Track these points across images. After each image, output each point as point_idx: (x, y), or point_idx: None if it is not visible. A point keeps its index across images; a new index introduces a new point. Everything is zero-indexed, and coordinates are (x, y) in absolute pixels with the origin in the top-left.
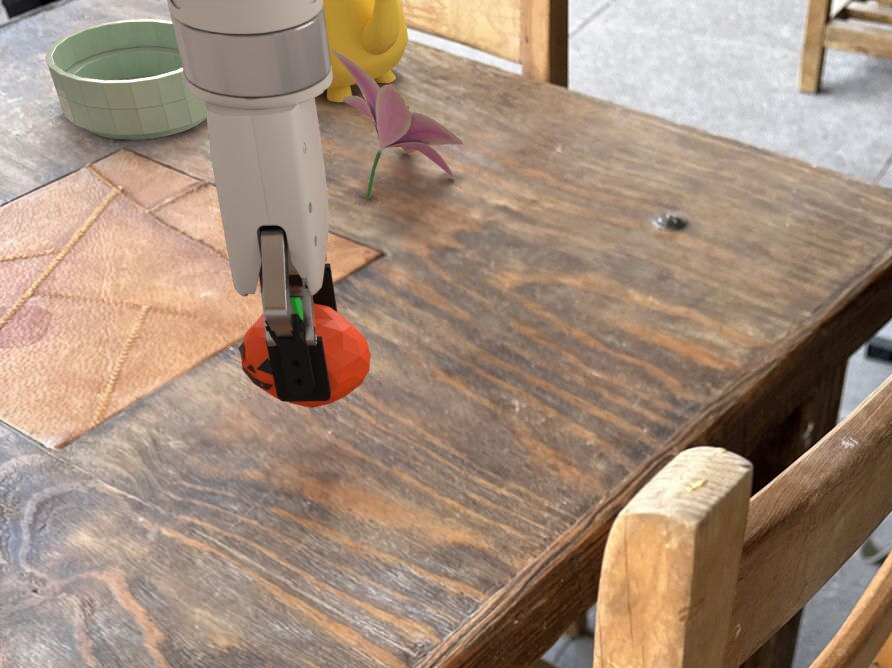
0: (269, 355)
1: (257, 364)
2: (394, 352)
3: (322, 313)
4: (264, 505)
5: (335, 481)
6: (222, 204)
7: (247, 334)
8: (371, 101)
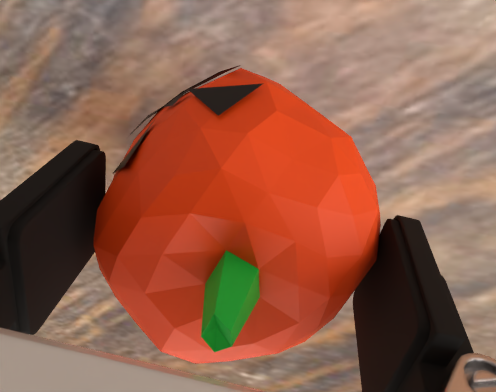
0: (8, 197)
1: (156, 126)
2: (449, 289)
3: (239, 338)
4: (68, 15)
5: (123, 142)
6: None
7: (224, 138)
8: None
